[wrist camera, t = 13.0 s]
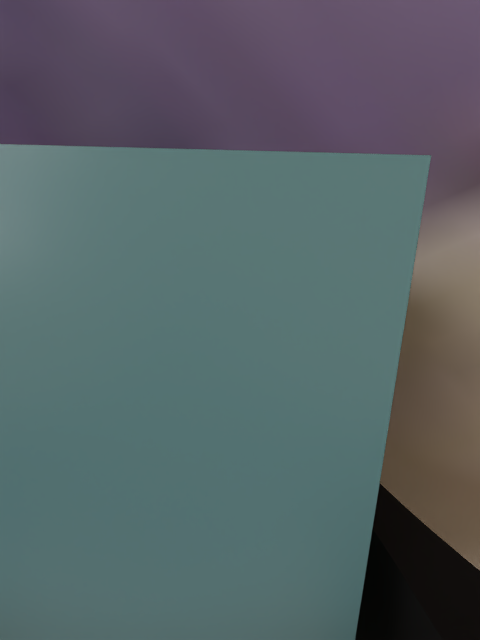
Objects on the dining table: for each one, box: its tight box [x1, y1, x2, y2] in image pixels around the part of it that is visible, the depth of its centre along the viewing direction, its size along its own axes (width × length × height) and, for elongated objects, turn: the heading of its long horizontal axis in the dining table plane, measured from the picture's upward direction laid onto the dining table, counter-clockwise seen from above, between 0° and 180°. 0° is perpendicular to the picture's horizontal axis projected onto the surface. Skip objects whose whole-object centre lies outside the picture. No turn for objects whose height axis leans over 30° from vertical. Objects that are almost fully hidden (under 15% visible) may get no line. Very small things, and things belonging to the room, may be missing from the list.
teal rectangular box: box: [0, 144, 431, 640], centre depth 6 cm, size 6×10×6 cm, turn 179°
